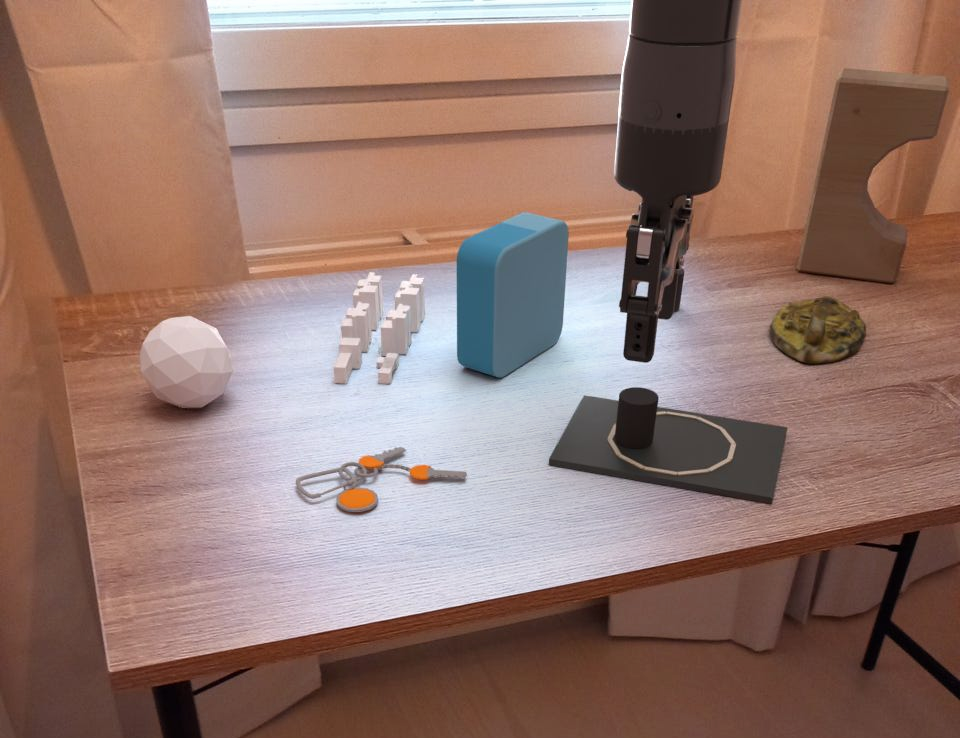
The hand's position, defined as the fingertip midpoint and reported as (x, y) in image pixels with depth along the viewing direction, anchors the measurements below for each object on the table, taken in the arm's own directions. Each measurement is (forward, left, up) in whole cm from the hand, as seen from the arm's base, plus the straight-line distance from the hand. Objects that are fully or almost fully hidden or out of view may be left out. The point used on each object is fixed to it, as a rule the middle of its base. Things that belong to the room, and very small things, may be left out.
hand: (649, 337), depth 80 cm
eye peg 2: (+3, -30, -10) cm, 32 cm away
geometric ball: (+39, +6, -10) cm, 41 cm away
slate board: (-3, 0, -10) cm, 10 cm away
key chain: (+18, +13, -10) cm, 24 cm away
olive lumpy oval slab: (-13, -28, -10) cm, 33 cm away
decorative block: (-15, -48, -10) cm, 51 cm away
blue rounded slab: (+15, -13, -10) cm, 22 cm away
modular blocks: (+28, -11, -10) cm, 32 cm away
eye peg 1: (0, 0, -9) cm, 9 cm away
